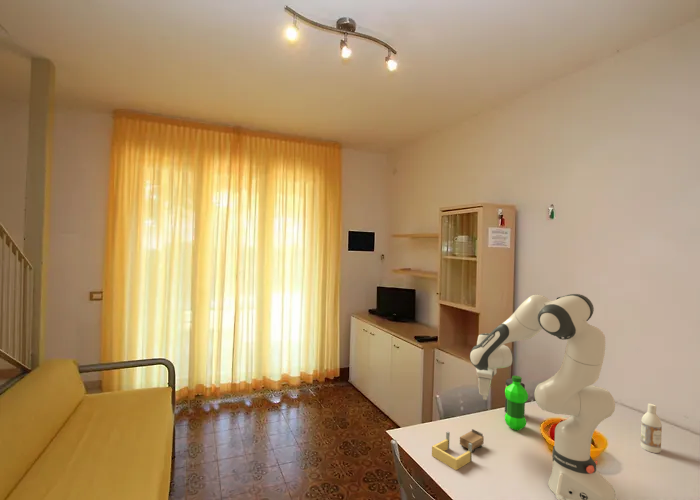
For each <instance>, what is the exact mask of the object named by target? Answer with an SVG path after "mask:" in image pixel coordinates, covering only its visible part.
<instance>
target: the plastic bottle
mask: <svg viewBox="0 0 700 500" xmlns="http://www.w3.org/2000/svg"><path fill="white" fill-rule="evenodd" d="M511 378H512V381H513V383H512V384H511V385H509V386H507V387H506V386H505V389H504V395H505V399H506V398H507V413H506V412H505V415H504V421H505V424H506V425H507V426H508V427H509V428H510V429H512V430H514V431H521V430H522V429H523V428H525V427H526V426H527V419H526V417H525V412H526V411H525V410H526V409H525V408H526V407H525V406H526V402H527V401H528V400H529V394H528V392H527V390H526V388H524V387H523V386H521V385H520V382H521V383H522V376H520V375H512V376H511Z"/></svg>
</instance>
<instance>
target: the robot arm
mask: <svg viewBox="0 0 700 500" xmlns="http://www.w3.org/2000/svg"><path fill="white" fill-rule="evenodd" d="M594 310H595V308H594V304H593V302H592V301H591V300H590V299H589V298H588V297H587V296H585V295H583V294H579V293H571V294H570V293H569V294H566V295H562V296H557V298H556V299H554V300H550V299H548V297H546V296H544V295H541V294H533V295H530V296H529V297H528V298H527V297H526V299H525V300H523V302H522V303H520V304H519V306H518V307H517V308H516V309H515V311H514V312H513V313H512V314H511V315H510V316H509V317H508V318H507V319H506V320H504V321H503V322H502V323H500V324H499V325H497V326H496V327H495V328H494V329H493V330H492V331H490V332H489V333H487V332H485V333H482V332H481V333H479V335H478V336H477V341H476V345H474V346H473V347H472V348H471V350H470V352H469V360H470V363H471V364H472V366H474V367H475V371H476V376H477V377H478V378H477V379H478V380H477V381H478V394H479V395H481V396H482V400H483V401H488V396H489V393H490V388H491V384H492V379H493V378H494V376H495V375H496V374H497V369H503V368H506V369H507V368H509V367H511V366H512V365H513V363H514V353H513V350H512V349H511V348H510V347H509V346H508V345H506V344H508V343H513V342H518V341H524V340H529V339H532V338H533V337H535V336H536V335H538V334H539V333H540V332H541V330H543V331H545V332H546V333H547V334H550V335H551V336H554V337H556V338H557V339H559V340H563V341H564V340H566V346H565V351H564V355H563V359H562V362H561V365H560V368H559V369H558V371H557V372H556V373H554V375H553V376H551V377H549V378H548V379H547V380H544V381H542V382H540V383H538V384H537V385H536V387H535V390H534V399H535V402H536V404H537V406H538V407H539V408H540V409H541V410H542V411H546V412H548V413H551V414H554V415H555V414H556V415H564V416H569V417H568V418H566V419H565V420H562V421H560V422H559V423H558V424H557V425H556V426H555V428H554V445H553V447H552V454H551V456H552V467H551V468H552V469H551V473H550V477H549V479H548V481H547V486H548V487H549V489H550V490H551V492H552V493H553V494H554V495H555V498H556V500H618V499H617V497H616V492H615V488H614V487H613V485H612V484H611V483H610V482H609V481H608V480H607V479H606V478H605V477H604V476H603V475H602V474H601V473H600V472H599V470H597V465H598V460H596V461H595V460H593V458H592V457H591V445H592V438H593V434H594V433H595V430H596V429H597V427H599V425H600V424H601V423H602V422H603V421H604V420H605V419H607V418H610V417H612V416H613V414H614V413H615V409H616V402H615V399H614V396H613V395H612V393H611V392H610V391H609V390H608V389H607V388H605V387H604V388H603V387H600V386H595V385H594V384H595V383H596V382H597V381H598V380H599V379H600V374H601V372H602V371H601V370H602V366H603V364H604V360H605V359H604V358H605V352H606V336H605V334H604V332H603V331H602V330H601V329H600V328H598V327H597V326H594V325H592V324H590V323H589V322H588V321H589V320H590V319H591V318H592V317H593V314H594Z"/></svg>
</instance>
